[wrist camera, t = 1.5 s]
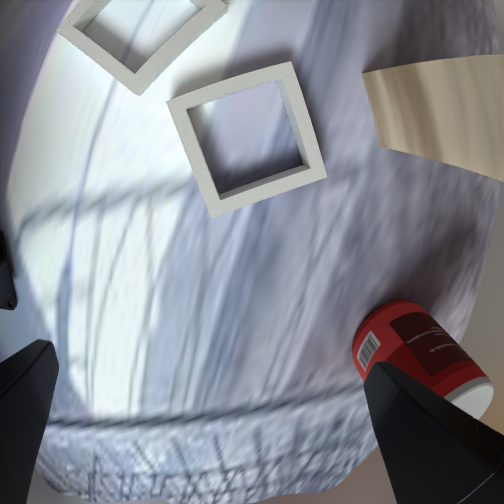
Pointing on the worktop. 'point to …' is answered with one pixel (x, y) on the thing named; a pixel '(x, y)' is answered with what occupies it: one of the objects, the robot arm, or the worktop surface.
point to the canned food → (422, 355)
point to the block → (443, 111)
